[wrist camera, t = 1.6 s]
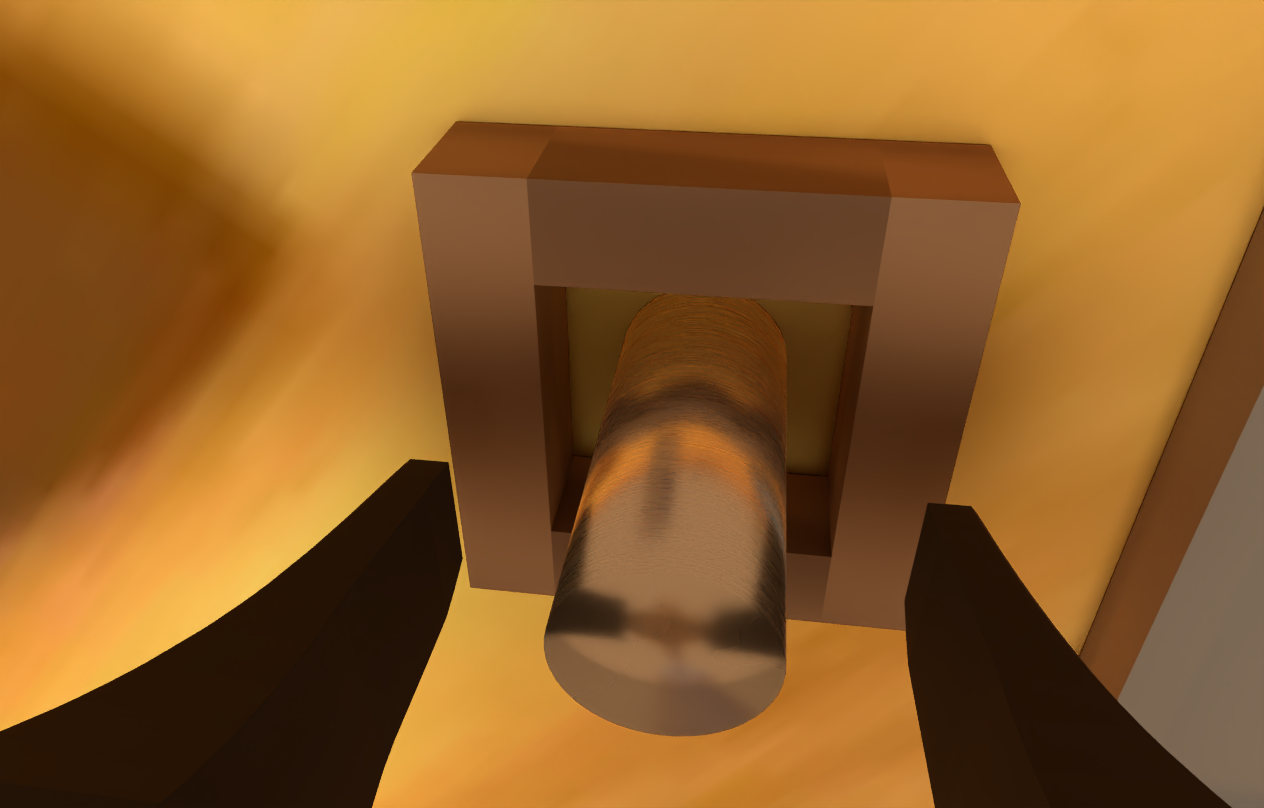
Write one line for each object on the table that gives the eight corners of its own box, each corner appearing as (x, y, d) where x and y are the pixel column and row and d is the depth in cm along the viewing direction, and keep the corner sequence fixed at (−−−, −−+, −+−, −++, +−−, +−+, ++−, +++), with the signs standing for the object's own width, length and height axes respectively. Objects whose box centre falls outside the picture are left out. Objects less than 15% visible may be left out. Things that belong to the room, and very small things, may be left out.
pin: (778, 429, 19) (775, 748, 13) (623, 417, 20) (550, 722, 13) (793, 290, 17) (797, 587, 11) (622, 279, 18) (536, 560, 12)
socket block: (901, 547, 21) (913, 631, 19) (498, 511, 22) (470, 587, 20) (990, 144, 15) (1021, 203, 13) (455, 121, 16) (411, 172, 14)
